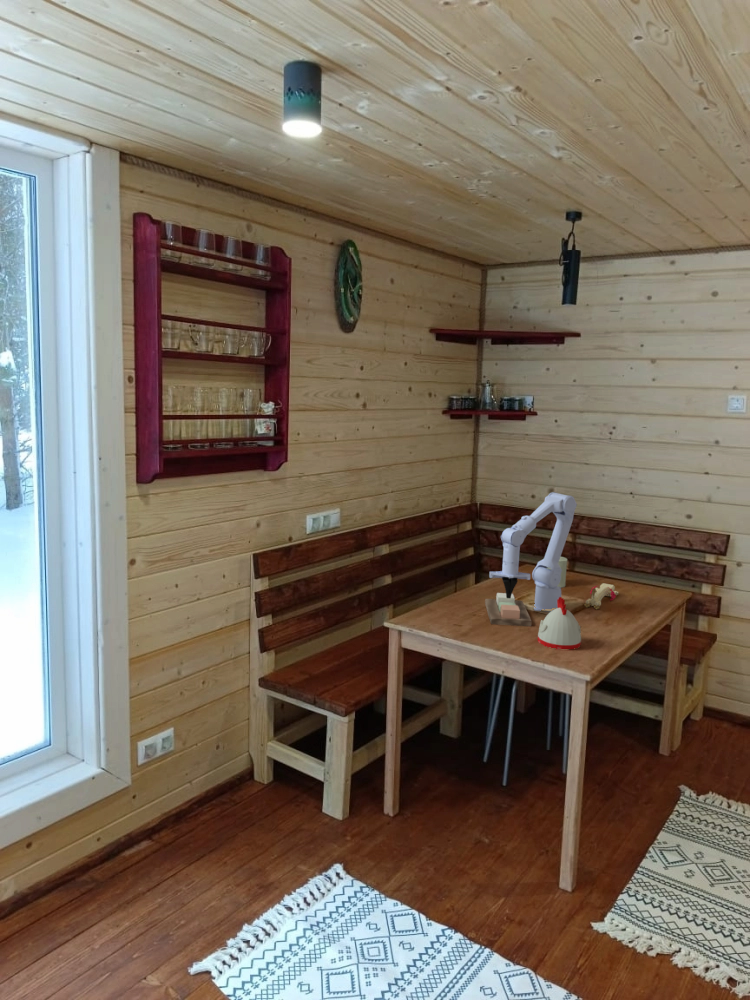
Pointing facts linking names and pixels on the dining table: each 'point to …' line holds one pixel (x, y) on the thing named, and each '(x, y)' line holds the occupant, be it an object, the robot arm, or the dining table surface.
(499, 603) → the sage button
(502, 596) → the cream button
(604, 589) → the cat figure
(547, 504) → the robot arm
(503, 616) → the terracotta button
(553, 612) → the kitchen timer
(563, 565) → the pale green cup
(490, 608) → the brown tray
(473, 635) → the dining table surface
